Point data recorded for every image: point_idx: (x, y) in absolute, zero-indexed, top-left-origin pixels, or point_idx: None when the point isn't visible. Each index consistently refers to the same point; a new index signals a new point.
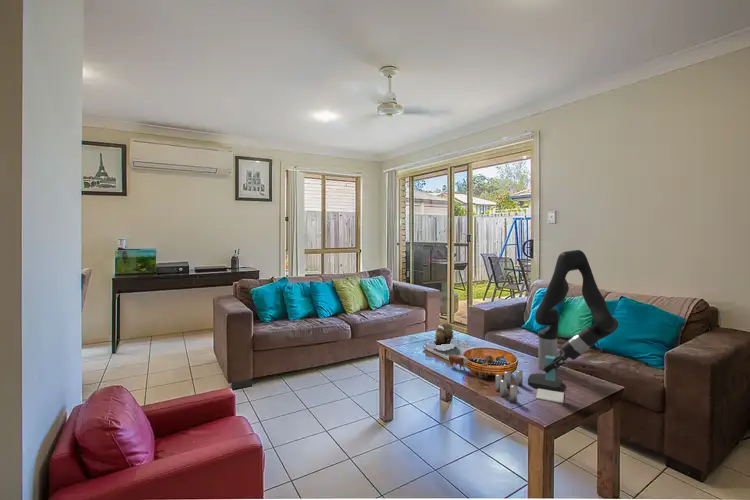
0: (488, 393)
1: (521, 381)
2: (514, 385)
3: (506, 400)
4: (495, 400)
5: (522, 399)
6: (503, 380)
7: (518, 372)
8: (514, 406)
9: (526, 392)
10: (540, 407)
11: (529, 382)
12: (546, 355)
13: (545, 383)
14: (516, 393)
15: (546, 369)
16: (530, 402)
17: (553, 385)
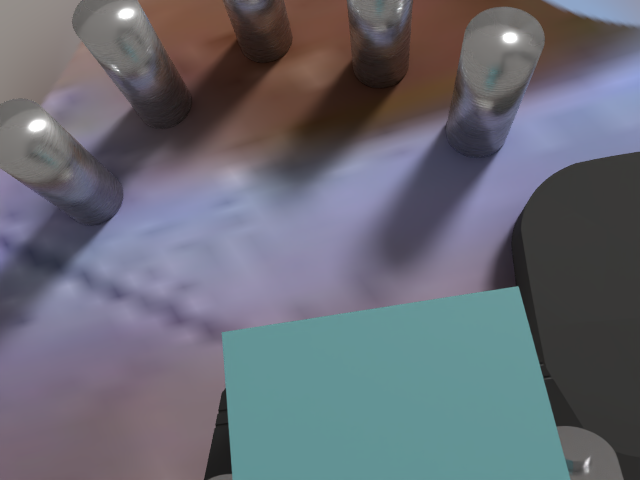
0: (157, 11)
1: (468, 129)
2: (33, 130)
3: (94, 149)
4: (59, 89)
5: (173, 243)
6: (118, 11)
7: (462, 45)
8: (13, 229)
9: (343, 229)
10: (82, 416)
11: (533, 194)
12: (512, 309)
13: (588, 349)
14: (31, 189)
15: (224, 408)
16: (145, 315)
17: (608, 443)
